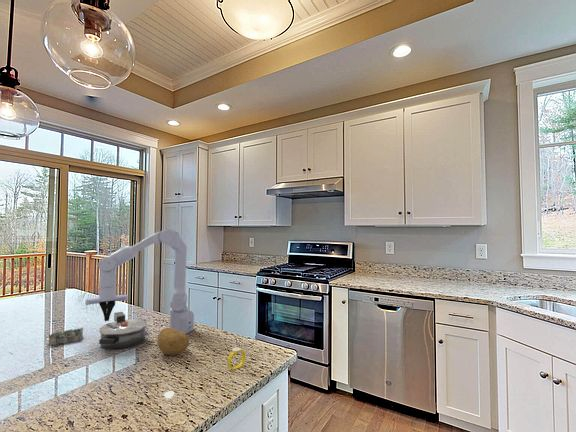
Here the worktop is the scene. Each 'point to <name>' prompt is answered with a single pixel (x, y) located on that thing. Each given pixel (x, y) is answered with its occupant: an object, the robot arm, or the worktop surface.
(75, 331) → the egg carton
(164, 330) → the potato
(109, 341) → the cooker pot
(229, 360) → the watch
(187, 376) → the worktop surface
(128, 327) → the lid
